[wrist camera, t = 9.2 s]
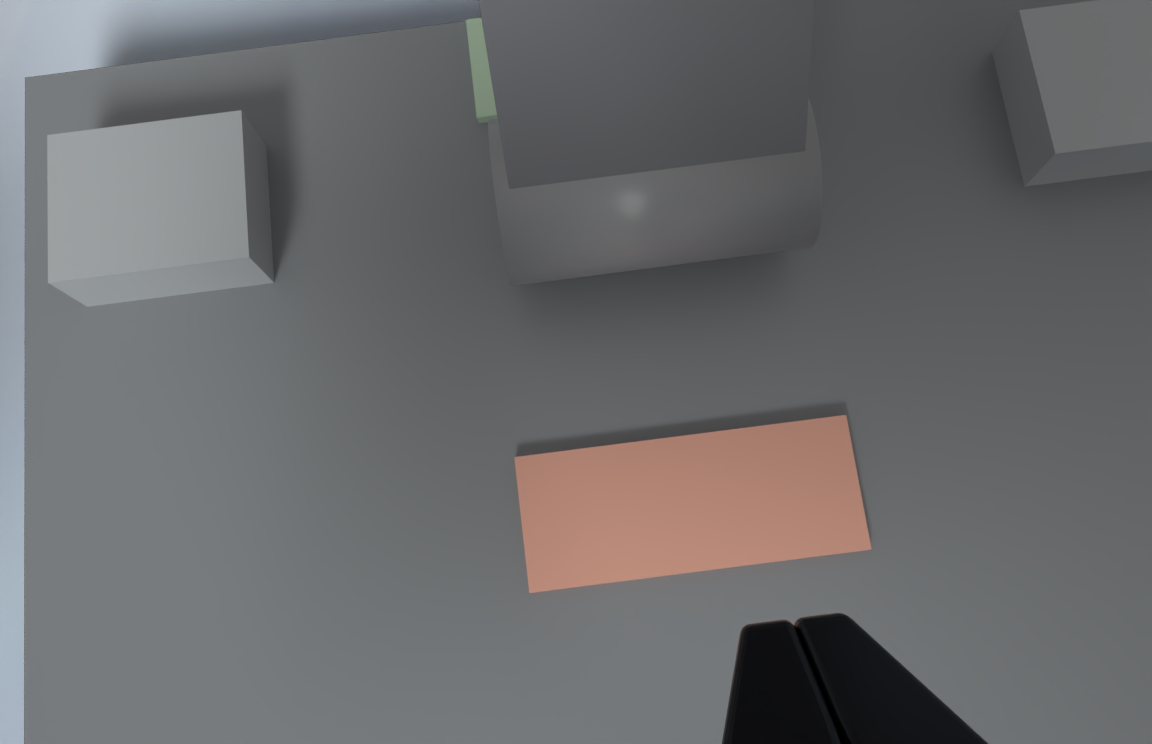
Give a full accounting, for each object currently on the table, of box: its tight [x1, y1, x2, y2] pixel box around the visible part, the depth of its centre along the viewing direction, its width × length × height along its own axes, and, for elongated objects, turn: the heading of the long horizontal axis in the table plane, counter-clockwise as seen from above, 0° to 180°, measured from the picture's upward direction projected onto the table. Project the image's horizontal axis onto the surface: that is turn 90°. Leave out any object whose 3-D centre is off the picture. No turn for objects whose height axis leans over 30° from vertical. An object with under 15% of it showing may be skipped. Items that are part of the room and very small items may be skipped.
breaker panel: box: [24, 0, 1152, 744], centre depth 16 cm, size 14×20×3 cm
